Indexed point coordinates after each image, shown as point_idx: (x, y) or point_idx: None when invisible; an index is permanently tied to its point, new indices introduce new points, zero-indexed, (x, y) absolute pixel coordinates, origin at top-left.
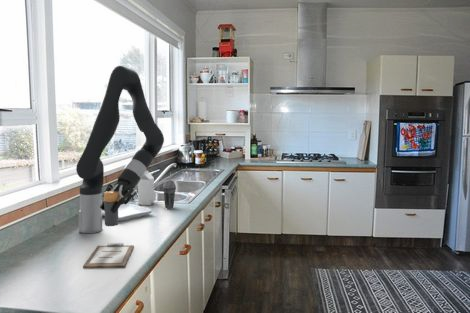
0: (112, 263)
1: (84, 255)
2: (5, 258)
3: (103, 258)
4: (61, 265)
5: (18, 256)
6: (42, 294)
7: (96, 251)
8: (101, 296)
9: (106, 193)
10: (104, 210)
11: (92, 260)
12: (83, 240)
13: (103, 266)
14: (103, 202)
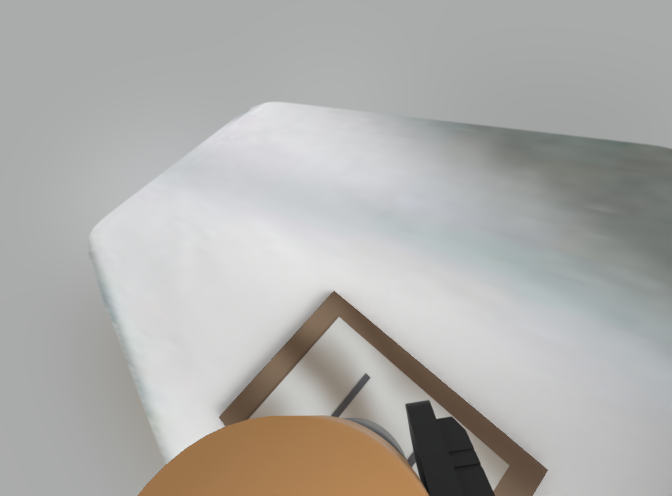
0: (274, 389)
1: (465, 358)
2: (597, 140)
3: (344, 387)
4: (412, 250)
5: (598, 172)
6: (258, 159)
7: (457, 413)
8: (131, 251)
9: (243, 445)
10: (368, 425)
11: (355, 339)
12: None
13: (281, 349)
14: (444, 463)
